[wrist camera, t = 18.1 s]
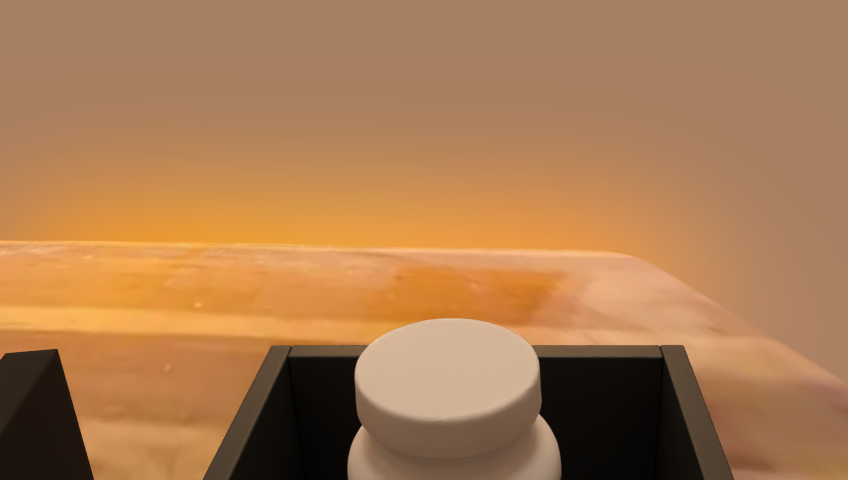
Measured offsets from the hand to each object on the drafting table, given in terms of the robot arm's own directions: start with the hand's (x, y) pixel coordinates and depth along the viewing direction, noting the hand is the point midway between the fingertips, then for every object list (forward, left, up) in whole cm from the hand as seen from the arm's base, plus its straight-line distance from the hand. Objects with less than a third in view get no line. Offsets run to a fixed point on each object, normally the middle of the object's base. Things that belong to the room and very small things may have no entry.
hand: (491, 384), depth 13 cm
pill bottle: (+1, -6, -14) cm, 15 cm away
